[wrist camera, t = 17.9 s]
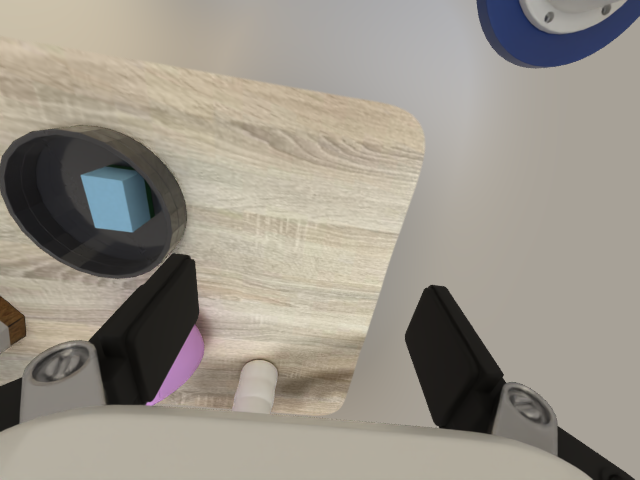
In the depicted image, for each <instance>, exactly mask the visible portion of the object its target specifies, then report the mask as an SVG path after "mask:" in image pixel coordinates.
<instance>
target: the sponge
mask: <svg viewBox="0 0 640 480" xmlns="http://www.w3.org/2000/svg"><path fill="white" fill-rule="evenodd" d="M81 178H82V182H83V186H84V189H85V193H86V197H87V200H88V204H89V207H90V211H91V215H92V218H93V222H94V225H95V228H101V229H109V230H117V231H125V232H134V231H135V230H137V229H138V228H139V227H141V226H142V225H143V224H145V223H146V222H148V221H149V220H150V219H152V218H153V217H154V216H155V215H154V209H153V202H152V196H151V190H150V186H149V185H148V183H147V182H146V180H145V179H144V178H143V177H142V176H141V175H140V174H139V173H138V172H137V171H136V170H135V169H134V168H132V167H125V166H118V165H109V166H106V167H103V168H100V169H97V170H94V171H91V172H88V173H85V174H82V175H81Z"/></svg>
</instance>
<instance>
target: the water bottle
mask: <svg viewBox="0 0 640 480" xmlns="http://www.w3.org/2000/svg"><path fill="white" fill-rule="evenodd" d="M277 377H278V372H277V369H276V367H275V366H274V365H273V364H271V363H270V362H268V361H264V360H254V361H250V362H248V363H247V364H245V366H244V367H243V369H242V372H241V375H240V380H239V386H238V388H237V390H236V394H235V398H234V405H233V408H232V411H238V412H252V413H265V414H271V409H272V406H273V402H274V395H275V387H276V383H277Z"/></svg>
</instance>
